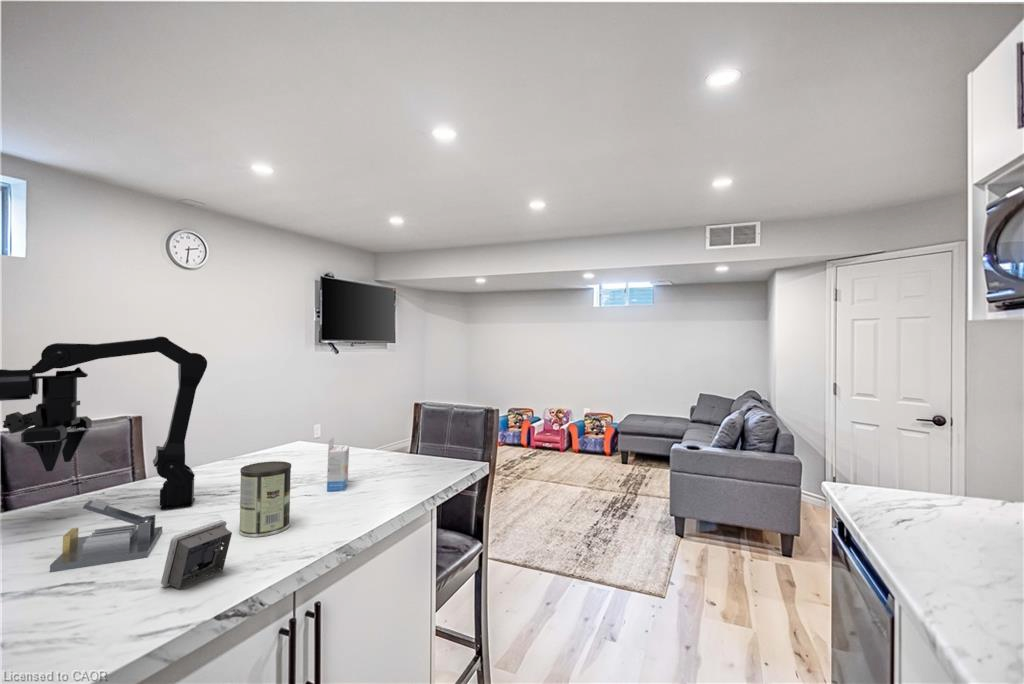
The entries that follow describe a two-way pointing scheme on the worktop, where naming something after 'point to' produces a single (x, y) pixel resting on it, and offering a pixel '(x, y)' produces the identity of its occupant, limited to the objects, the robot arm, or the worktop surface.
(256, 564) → the worktop surface
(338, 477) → the ink box
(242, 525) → the coffee can
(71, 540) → the toggle clamp fixture
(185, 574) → the electrical switch
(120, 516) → the grey long bar
